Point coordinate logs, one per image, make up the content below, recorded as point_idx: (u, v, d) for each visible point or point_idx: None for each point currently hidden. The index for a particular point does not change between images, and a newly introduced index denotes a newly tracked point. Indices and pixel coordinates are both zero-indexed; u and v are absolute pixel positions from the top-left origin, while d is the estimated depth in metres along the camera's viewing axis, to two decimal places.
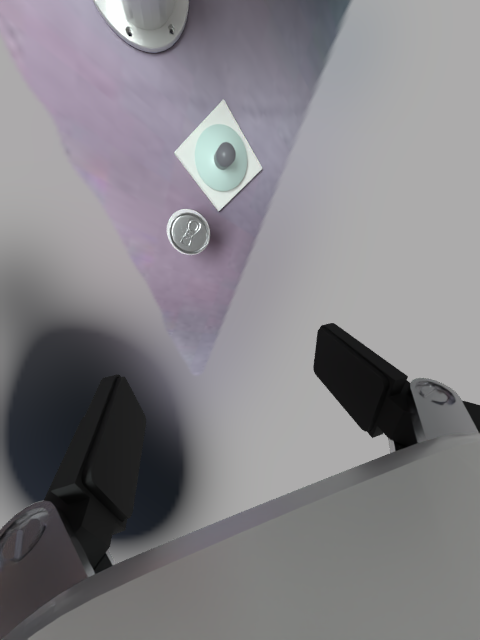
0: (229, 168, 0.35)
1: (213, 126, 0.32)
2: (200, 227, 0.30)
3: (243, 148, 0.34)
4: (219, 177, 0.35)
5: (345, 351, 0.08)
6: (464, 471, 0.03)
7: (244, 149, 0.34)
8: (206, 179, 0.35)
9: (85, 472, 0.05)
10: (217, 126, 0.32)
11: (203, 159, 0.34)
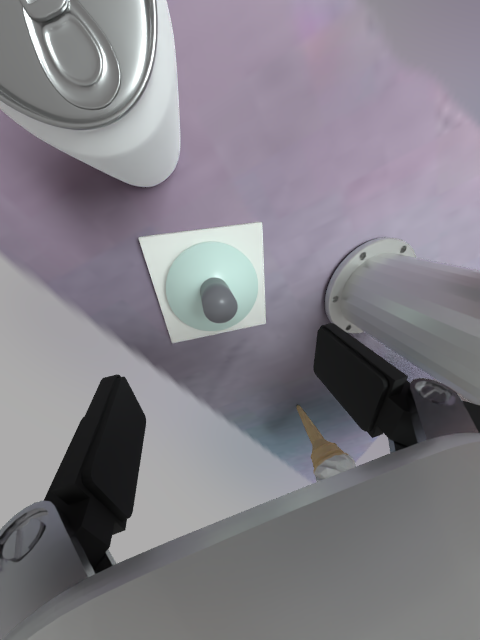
0: (197, 296, 0.20)
1: (254, 299, 0.21)
2: (54, 86, 0.06)
3: (210, 328, 0.22)
4: (193, 273, 0.19)
5: (345, 351, 0.08)
6: (464, 471, 0.03)
7: (208, 329, 0.22)
8: (202, 249, 0.18)
9: (85, 472, 0.05)
10: (251, 305, 0.21)
11: (230, 262, 0.19)
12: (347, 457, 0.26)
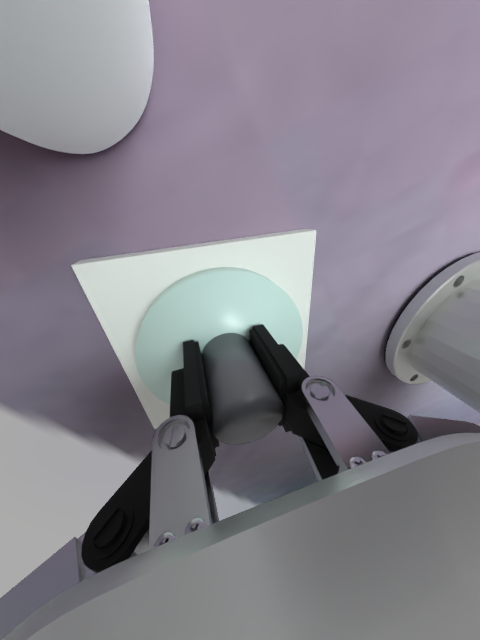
0: None
1: None
2: None
3: None
4: (189, 330, 0.10)
5: (262, 351, 0.09)
6: (464, 471, 0.03)
7: None
8: (206, 286, 0.09)
9: (203, 398, 0.07)
10: None
11: (259, 305, 0.10)
12: None
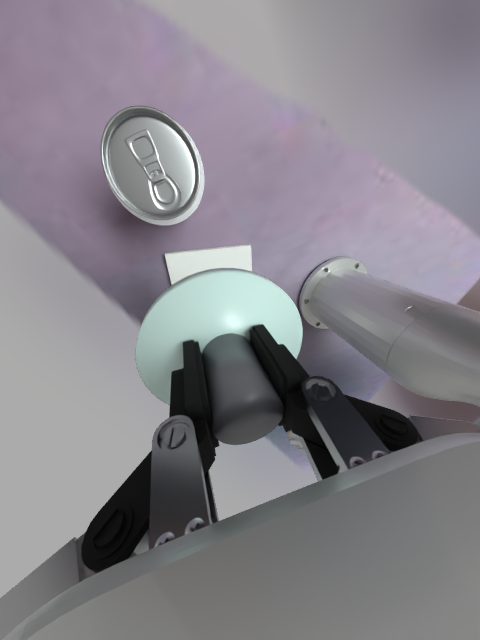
0: None
1: None
2: (154, 204, 0.13)
3: None
4: (189, 331, 0.10)
5: (262, 351, 0.09)
6: (464, 471, 0.03)
7: None
8: (206, 286, 0.09)
9: (203, 398, 0.07)
10: None
11: (259, 306, 0.10)
12: None
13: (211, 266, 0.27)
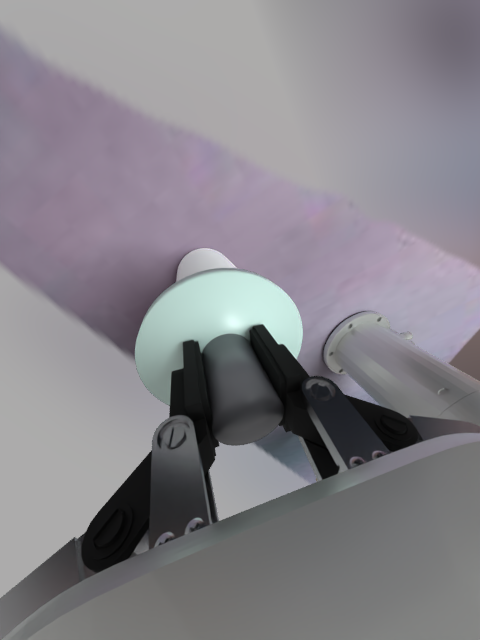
0: None
1: None
2: None
3: None
4: (189, 331, 0.10)
5: (262, 351, 0.09)
6: (464, 471, 0.03)
7: None
8: (205, 287, 0.09)
9: (203, 398, 0.07)
10: None
11: (259, 306, 0.10)
12: None
13: None
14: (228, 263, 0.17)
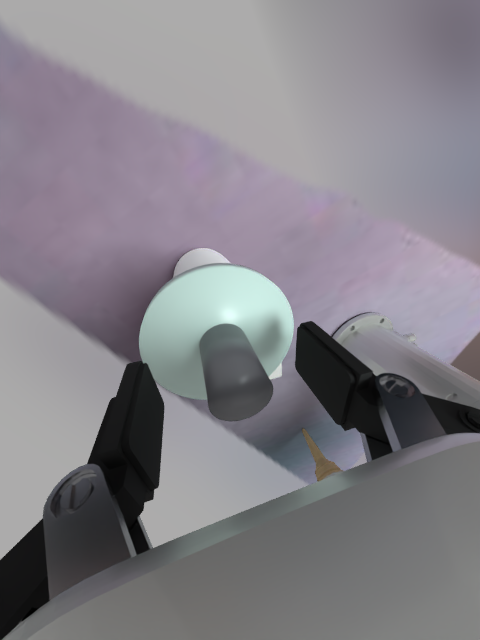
0: (195, 354, 0.12)
1: (285, 351, 0.13)
2: None
3: None
4: (188, 320, 0.11)
5: (319, 348, 0.09)
6: (464, 471, 0.03)
7: None
8: (203, 279, 0.10)
9: (124, 440, 0.06)
10: (280, 358, 0.14)
11: (252, 298, 0.11)
12: None
13: None
14: None
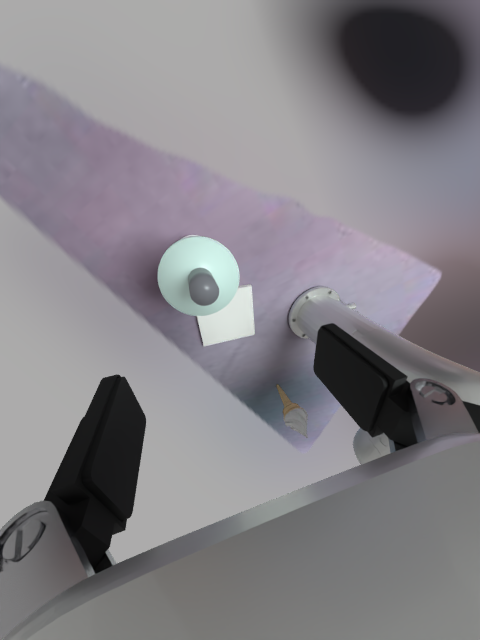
0: (185, 284, 0.22)
1: (236, 287, 0.24)
2: None
3: (198, 313, 0.24)
4: (181, 264, 0.21)
5: (345, 351, 0.08)
6: (464, 471, 0.03)
7: (196, 314, 0.24)
8: (188, 242, 0.21)
9: (85, 472, 0.05)
10: (233, 292, 0.24)
11: (214, 254, 0.22)
12: (302, 409, 0.45)
13: None
14: None
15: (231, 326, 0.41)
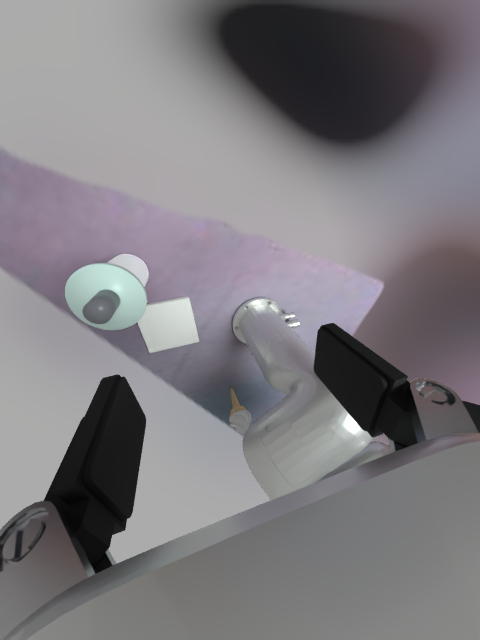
0: None
1: (144, 305, 0.27)
2: None
3: (112, 327, 0.28)
4: (86, 287, 0.25)
5: (345, 351, 0.08)
6: (464, 471, 0.03)
7: (110, 328, 0.28)
8: (89, 269, 0.24)
9: (85, 472, 0.05)
10: (143, 309, 0.28)
11: (116, 278, 0.25)
12: (246, 412, 0.48)
13: (163, 312, 0.41)
14: (124, 263, 0.30)
15: (174, 334, 0.44)
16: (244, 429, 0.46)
